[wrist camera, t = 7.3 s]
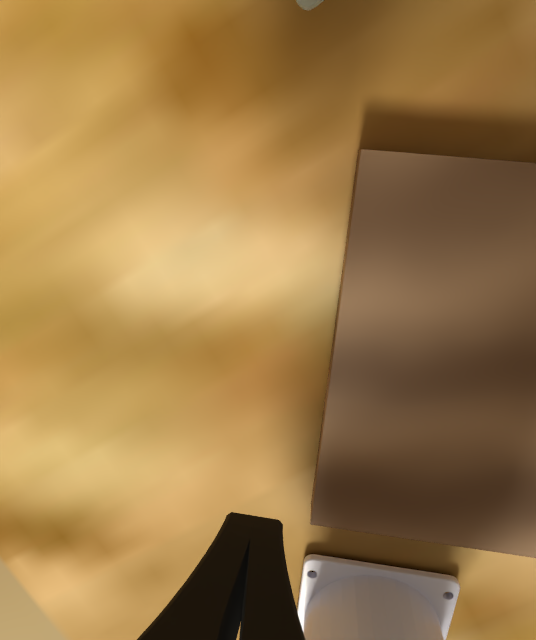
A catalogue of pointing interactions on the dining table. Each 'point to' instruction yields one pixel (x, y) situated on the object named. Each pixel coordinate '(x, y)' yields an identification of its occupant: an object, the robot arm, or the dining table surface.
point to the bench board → (434, 356)
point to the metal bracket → (308, 4)
